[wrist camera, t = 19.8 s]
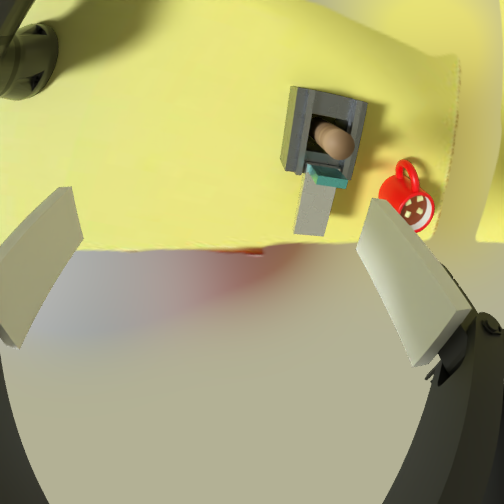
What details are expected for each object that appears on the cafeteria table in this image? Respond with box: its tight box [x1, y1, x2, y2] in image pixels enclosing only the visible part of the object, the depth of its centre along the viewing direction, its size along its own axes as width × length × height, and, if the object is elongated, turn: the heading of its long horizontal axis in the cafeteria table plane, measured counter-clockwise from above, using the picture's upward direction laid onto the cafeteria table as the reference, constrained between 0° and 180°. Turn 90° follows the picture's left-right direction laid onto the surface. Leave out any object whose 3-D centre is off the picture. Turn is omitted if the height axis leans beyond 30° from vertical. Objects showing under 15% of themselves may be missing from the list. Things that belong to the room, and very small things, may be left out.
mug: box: [379, 159, 435, 233], centre depth 42 cm, size 8×12×8 cm, turn 17°
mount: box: [280, 86, 368, 180], centre depth 37 cm, size 10×12×7 cm
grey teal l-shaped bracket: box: [292, 162, 348, 236], centre depth 38 cm, size 5×11×6 cm, turn 174°
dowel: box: [309, 117, 355, 160], centre depth 35 cm, size 4×4×12 cm
